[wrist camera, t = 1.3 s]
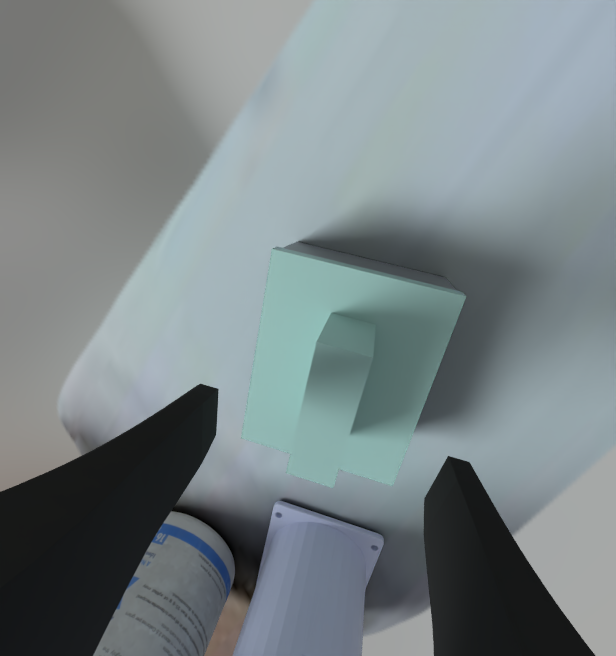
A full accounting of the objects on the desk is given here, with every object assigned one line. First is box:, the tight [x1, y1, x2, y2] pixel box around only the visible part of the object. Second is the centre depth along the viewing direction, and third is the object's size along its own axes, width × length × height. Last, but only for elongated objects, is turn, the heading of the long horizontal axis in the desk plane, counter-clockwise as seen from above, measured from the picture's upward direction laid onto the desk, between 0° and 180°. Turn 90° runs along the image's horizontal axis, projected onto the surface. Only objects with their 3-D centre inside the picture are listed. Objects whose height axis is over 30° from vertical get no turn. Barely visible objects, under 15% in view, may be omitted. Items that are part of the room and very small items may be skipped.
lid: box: [241, 247, 466, 488], centre depth 15 cm, size 10×8×5 cm
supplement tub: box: [93, 511, 235, 656], centre depth 23 cm, size 10×10×15 cm
